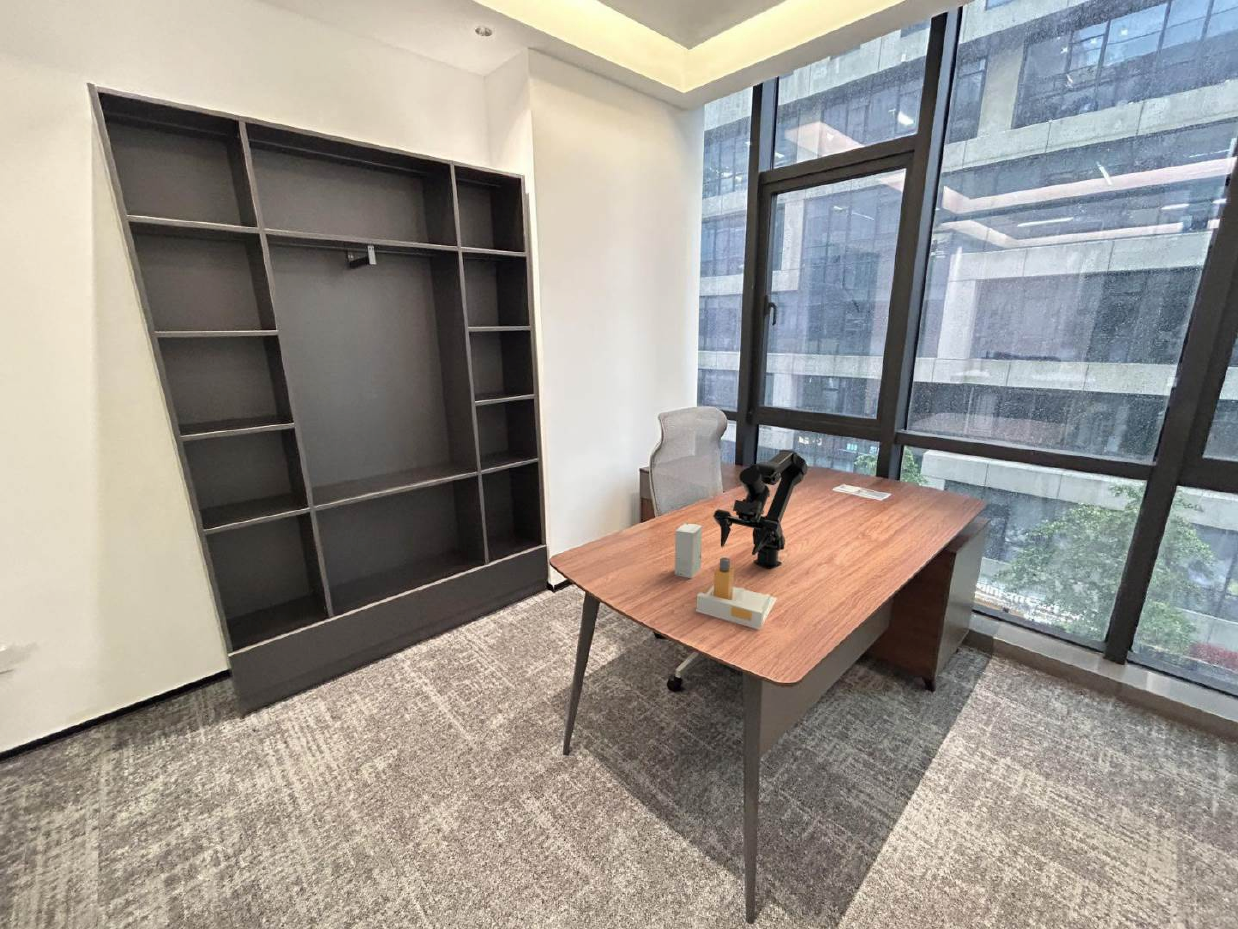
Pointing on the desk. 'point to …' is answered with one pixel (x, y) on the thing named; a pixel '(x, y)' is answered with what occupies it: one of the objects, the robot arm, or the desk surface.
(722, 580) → the orange plug
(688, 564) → the skincare box
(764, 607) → the white ribbed tray
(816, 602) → the desk surface
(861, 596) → the desk surface
